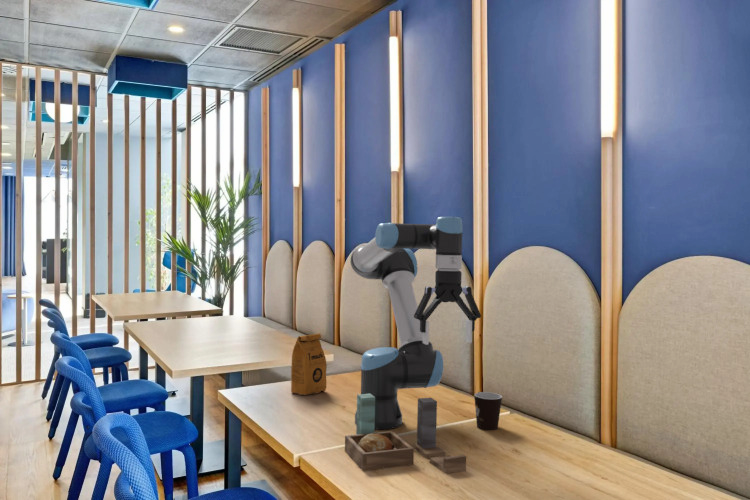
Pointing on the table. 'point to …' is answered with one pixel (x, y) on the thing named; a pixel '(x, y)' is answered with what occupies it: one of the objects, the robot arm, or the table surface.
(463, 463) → the strip
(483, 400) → the coffee mug
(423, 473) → the table surface
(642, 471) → the table surface
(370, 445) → the bread roll
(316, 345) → the coffee package
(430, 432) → the grey tall block
